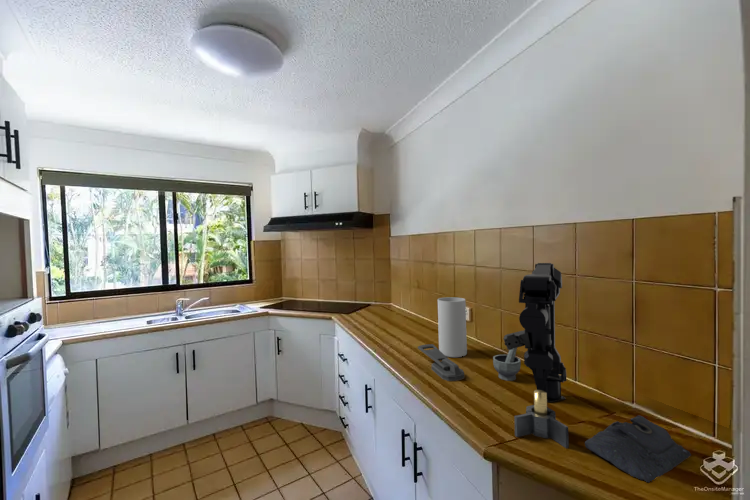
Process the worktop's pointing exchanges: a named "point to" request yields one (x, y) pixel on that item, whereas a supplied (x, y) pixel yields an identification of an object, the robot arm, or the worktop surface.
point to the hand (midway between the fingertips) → (539, 382)
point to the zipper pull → (442, 364)
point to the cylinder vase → (452, 326)
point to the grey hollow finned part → (541, 426)
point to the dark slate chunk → (638, 448)
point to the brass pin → (540, 402)
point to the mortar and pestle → (507, 365)
